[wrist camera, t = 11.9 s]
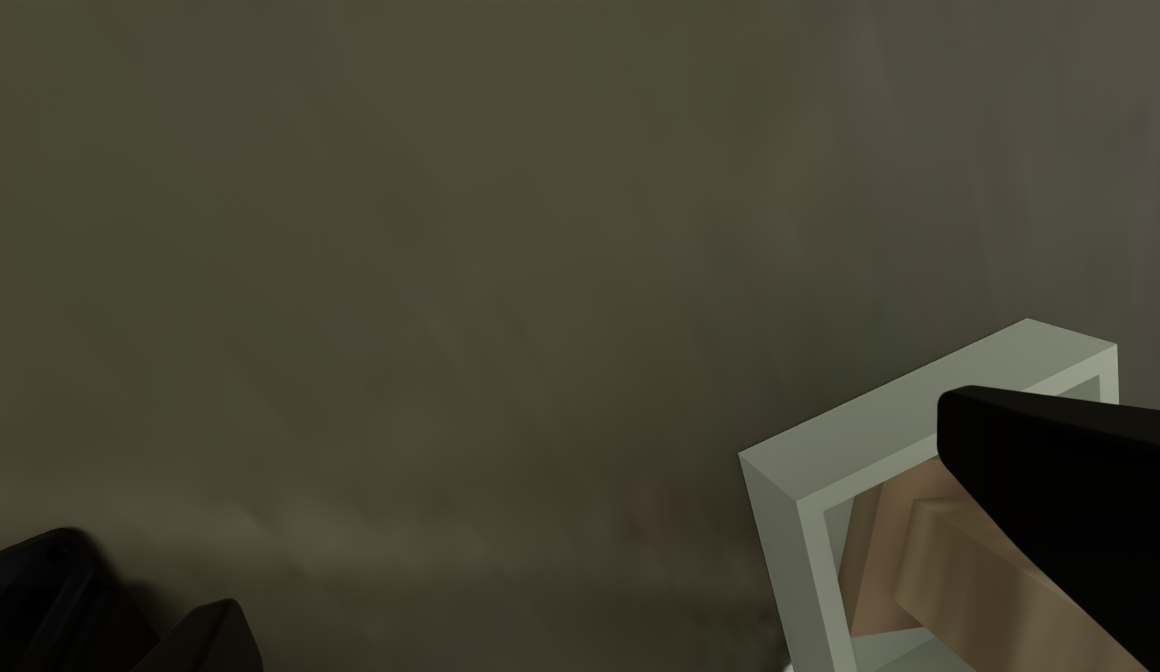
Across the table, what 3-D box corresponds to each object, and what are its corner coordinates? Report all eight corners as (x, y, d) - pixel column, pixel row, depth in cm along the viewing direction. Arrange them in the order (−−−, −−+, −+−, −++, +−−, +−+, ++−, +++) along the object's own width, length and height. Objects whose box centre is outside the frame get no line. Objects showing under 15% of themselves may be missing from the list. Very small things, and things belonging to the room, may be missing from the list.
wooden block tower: (829, 617, 28) (1169, 961, 17) (864, 448, 26) (1273, 703, 15) (972, 597, 30) (1359, 889, 19) (1013, 440, 28) (1469, 656, 17)
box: (803, 710, 30) (860, 781, 27) (737, 453, 25) (795, 501, 22) (1047, 574, 32) (1126, 625, 29) (1027, 318, 28) (1117, 344, 24)
